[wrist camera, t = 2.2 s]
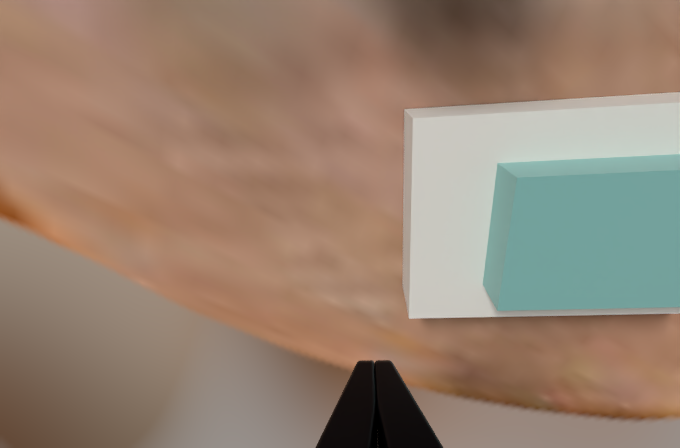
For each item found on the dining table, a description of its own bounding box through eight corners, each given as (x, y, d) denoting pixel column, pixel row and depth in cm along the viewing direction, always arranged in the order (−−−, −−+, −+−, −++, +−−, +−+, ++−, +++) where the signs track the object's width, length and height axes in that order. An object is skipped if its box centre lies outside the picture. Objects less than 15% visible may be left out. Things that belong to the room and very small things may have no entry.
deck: (721, 89, 16) (797, 95, 13) (653, 278, 20) (699, 313, 17) (404, 108, 17) (412, 118, 14) (402, 285, 21) (409, 318, 18)
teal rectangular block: (732, 151, 14) (788, 164, 12) (680, 279, 16) (720, 306, 15) (497, 163, 15) (517, 177, 13) (482, 284, 17) (497, 310, 15)
